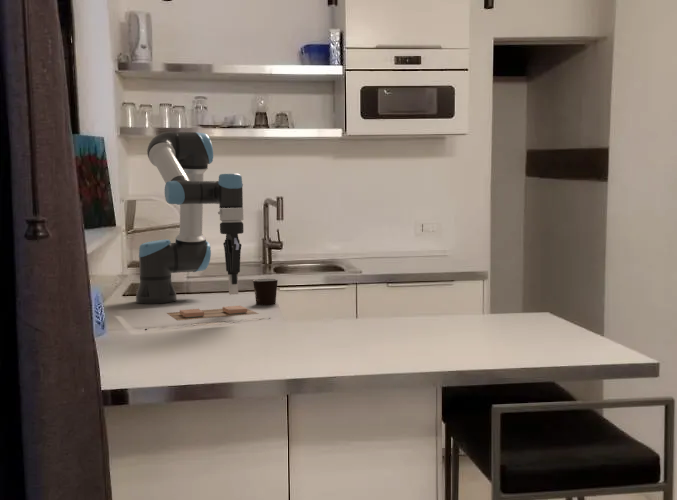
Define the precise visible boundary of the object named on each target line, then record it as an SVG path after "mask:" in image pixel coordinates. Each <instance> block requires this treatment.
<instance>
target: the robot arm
mask: <svg viewBox="0 0 677 500" xmlns="http://www.w3.org/2000/svg"><path fill="white" fill-rule="evenodd" d="M213 147H214V146H213V144H212V140H211V138H210V137H209V135H208V134H207V133H205V132H199V131H198V132H196V131H163V132H161V133H159V134H157V135H156V136H154V137H153V138H152V139H151V140H150V142H149V143H148V146H147V149H146V151H147V153H146V154H147V157H148V161H150V163H151V164H152V166H154V167H156V169H157V170H158V172H159V174H160V175H161V177H162V179H163V181H164V183H165V185H164V198H165V202H166V203H168V204H170V205H179V234H177V236H176V237H175V242H171V240H170V239H160V240H159V239H157V240H151V241H147V242H146V241H145V242H144V243H141V244H140V245H139V247H138V258H139V259H138V260H139V285H138V287H137V288H138V289H137V292H136V294H135V302H136V303H137V304H143V303H145V304H146V305H147V304H148V305H149V304H150V305H153V304H156V305H157V304H167V303H172V302H176V301H177V299H178V298H177V293H176V290H175V287H174V284H173V282H172V274H176V273H177V274H179V273H191V272H192V273H197V272H203V271H205V270H206V269H208V267H209V264H210V261H211V255H212V250H211V243H210V242H209V241H207V238H206V236H205V235H204V234H203V213H204V212H203V211H204V210H203V209H204V207H203V206H204V205H207V204H210V205H212V204H216V205H219V211H218V212H217V213H218V215H219V221H221V222H220V223H219V229H220V230H219V233H220V234H221V235H225V239H224V242H223V250H224V259H225V269H226V272H227V276H228V278H227V279H228V294H229V295H239V276H238V275H239V273H240V272H241V253H242V252H241V250H242V243H240V239H239V234H241V235H242V234H244V223H243V222H242V221H243V220H244V207H243V204H244V202H243V196H244V195H243V194H244V193H243V192H244V191H243V185H244V184H243V178H242V177H243V176H242V175H241V174H239V173H221V174H219V176H218V180H204V173H205V172H206V171H207V170H208V166H209V165H210V164H212V163H213V161H214V148H213ZM145 304H144V305H145Z"/></svg>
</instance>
